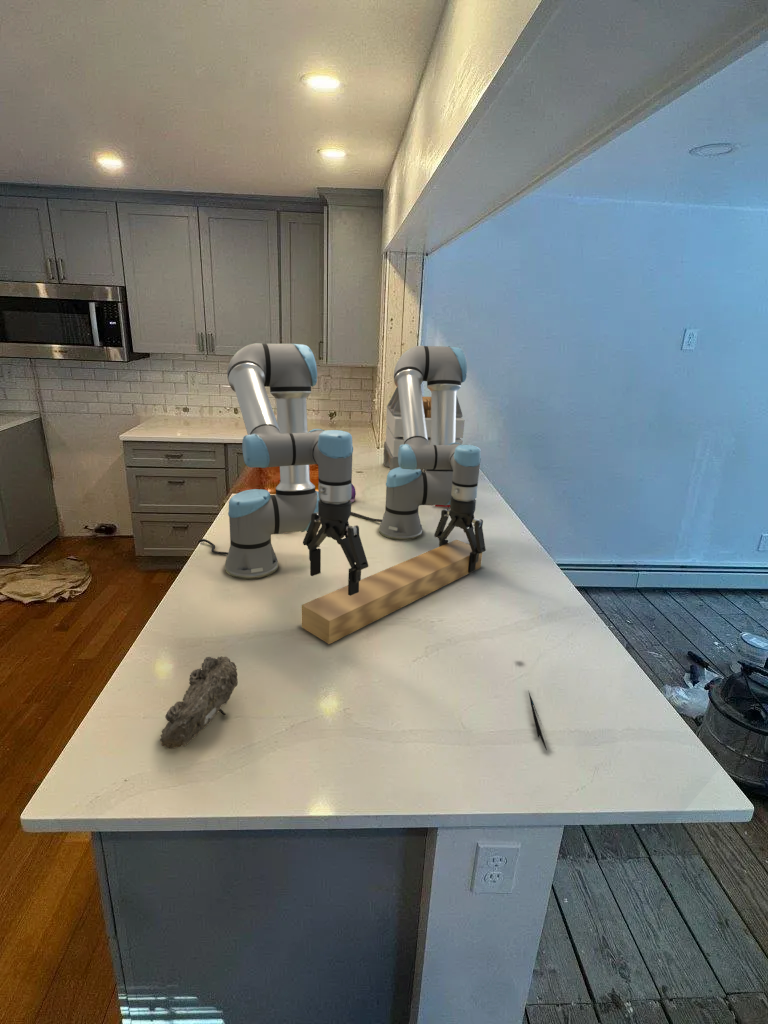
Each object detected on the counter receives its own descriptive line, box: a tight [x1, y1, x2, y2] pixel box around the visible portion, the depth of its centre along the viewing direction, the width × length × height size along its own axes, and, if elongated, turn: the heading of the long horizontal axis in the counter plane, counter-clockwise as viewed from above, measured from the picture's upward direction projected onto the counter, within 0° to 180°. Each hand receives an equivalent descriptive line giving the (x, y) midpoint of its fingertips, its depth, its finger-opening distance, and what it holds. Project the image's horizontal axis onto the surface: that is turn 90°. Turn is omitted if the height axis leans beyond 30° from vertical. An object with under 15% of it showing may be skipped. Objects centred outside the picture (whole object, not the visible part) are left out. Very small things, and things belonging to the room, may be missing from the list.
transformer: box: [383, 387, 465, 471], centre depth 268 cm, size 34×33×41 cm
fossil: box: [160, 656, 239, 749], centre depth 107 cm, size 22×10×15 cm
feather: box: [528, 689, 548, 751], centre depth 116 cm, size 2×28×2 cm
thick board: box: [301, 539, 483, 645], centre depth 157 cm, size 63×10×6 cm, turn 137°
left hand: (333, 583), depth 136 cm, fingers open, 13 cm apart
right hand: (457, 565), depth 176 cm, fingers closed on thick board, 10 cm apart
